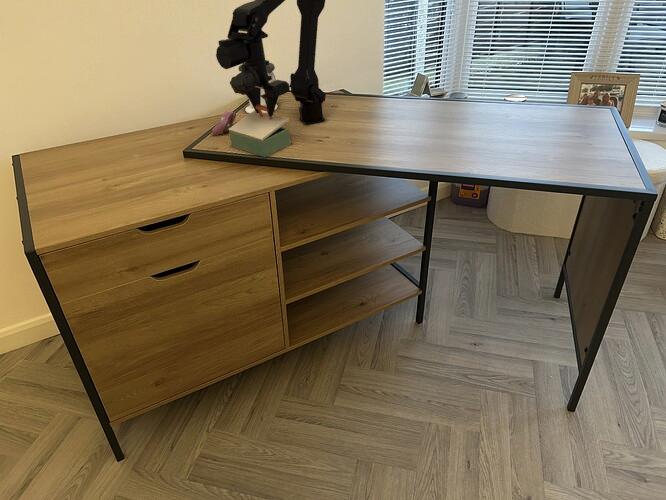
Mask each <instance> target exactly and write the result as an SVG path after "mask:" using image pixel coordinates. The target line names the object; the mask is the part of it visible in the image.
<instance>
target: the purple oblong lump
mask: <svg viewBox="0 0 666 500" xmlns="http://www.w3.org/2000/svg"><path fill="white" fill-rule="evenodd" d="M236 117H237V112H235V111H232V110H230V109H228V111H225V112H223V113H222V115H221V117H220V118H219V120H218V122H217V123H216V125H215V126H214V127H212V129H211V134H212V136H219V135H221V134H223V132H224V133H228V131H229V130H228V129H229V128H231V127H232V126H233V123H234V121H235V120H236Z"/></svg>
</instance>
